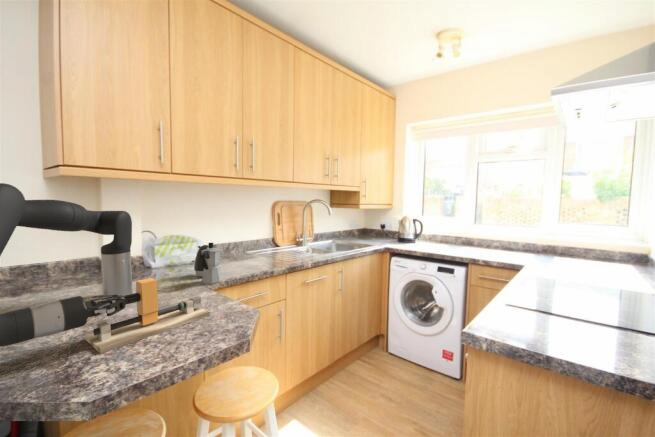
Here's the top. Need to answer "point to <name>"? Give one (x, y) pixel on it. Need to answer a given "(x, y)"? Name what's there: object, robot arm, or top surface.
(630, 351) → the top surface
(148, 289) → the upright wooden block
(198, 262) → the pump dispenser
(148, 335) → the linear slide rail
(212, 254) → the coffee maker
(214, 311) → the top surface
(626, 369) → the top surface
